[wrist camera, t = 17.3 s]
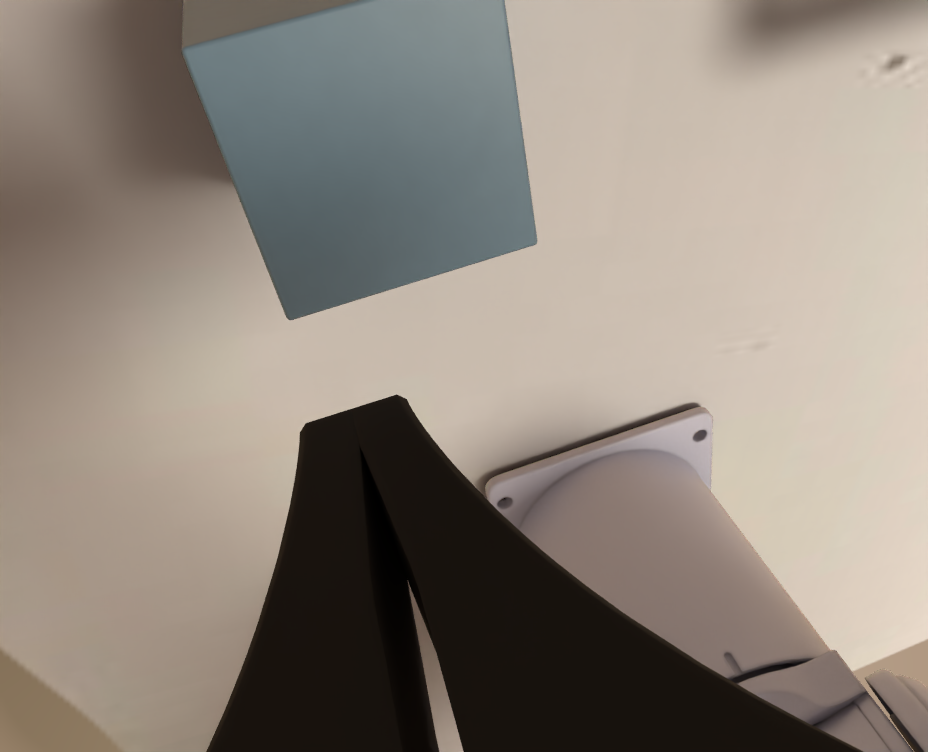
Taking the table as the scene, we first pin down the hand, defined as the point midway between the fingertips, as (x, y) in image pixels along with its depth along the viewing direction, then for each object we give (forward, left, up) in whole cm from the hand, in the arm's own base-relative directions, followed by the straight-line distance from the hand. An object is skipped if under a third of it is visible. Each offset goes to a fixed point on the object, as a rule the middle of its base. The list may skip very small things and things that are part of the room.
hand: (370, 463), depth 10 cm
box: (+2, -2, -10) cm, 10 cm away
